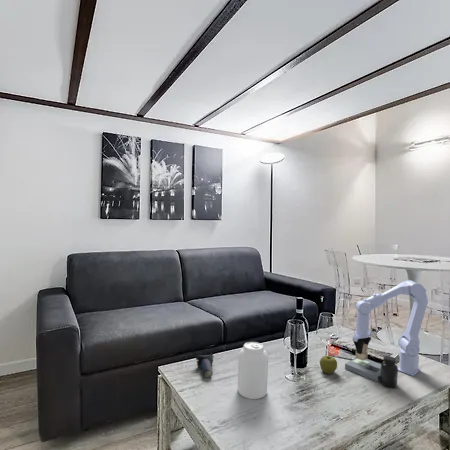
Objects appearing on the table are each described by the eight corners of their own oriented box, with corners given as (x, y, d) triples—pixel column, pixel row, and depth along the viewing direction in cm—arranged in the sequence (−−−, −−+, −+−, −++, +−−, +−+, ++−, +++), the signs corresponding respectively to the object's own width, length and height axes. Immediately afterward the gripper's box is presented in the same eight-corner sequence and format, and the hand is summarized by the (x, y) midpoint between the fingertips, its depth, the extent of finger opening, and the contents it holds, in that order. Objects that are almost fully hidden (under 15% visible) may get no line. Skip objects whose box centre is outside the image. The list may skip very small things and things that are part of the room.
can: (269, 386, 140) (271, 341, 139) (263, 402, 128) (265, 353, 127) (242, 381, 144) (243, 337, 143) (233, 396, 132) (235, 348, 131)
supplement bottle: (399, 389, 140) (400, 362, 140) (382, 387, 141) (383, 360, 141) (394, 381, 147) (395, 355, 146) (378, 379, 148) (379, 354, 148)
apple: (339, 376, 150) (339, 361, 150) (321, 375, 150) (322, 360, 150) (333, 368, 158) (334, 354, 158) (317, 368, 158) (318, 353, 158)
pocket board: (359, 360, 167) (359, 355, 167) (390, 372, 155) (391, 367, 155) (344, 368, 158) (345, 363, 158) (377, 382, 146) (377, 376, 146)
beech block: (359, 355, 163) (360, 342, 163) (367, 358, 160) (367, 344, 159) (355, 357, 160) (356, 344, 160) (363, 360, 157) (363, 346, 157)
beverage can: (197, 369, 157) (201, 383, 145) (194, 354, 156) (199, 367, 144) (215, 364, 159) (221, 377, 147) (213, 349, 158) (218, 362, 146)
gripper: (362, 320, 167) (360, 345, 168) (347, 325, 158) (346, 353, 158) (375, 324, 162) (374, 350, 162) (361, 330, 153) (359, 358, 153)
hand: (361, 352), depth 160 cm, fingers closed on beech block, 4 cm apart
